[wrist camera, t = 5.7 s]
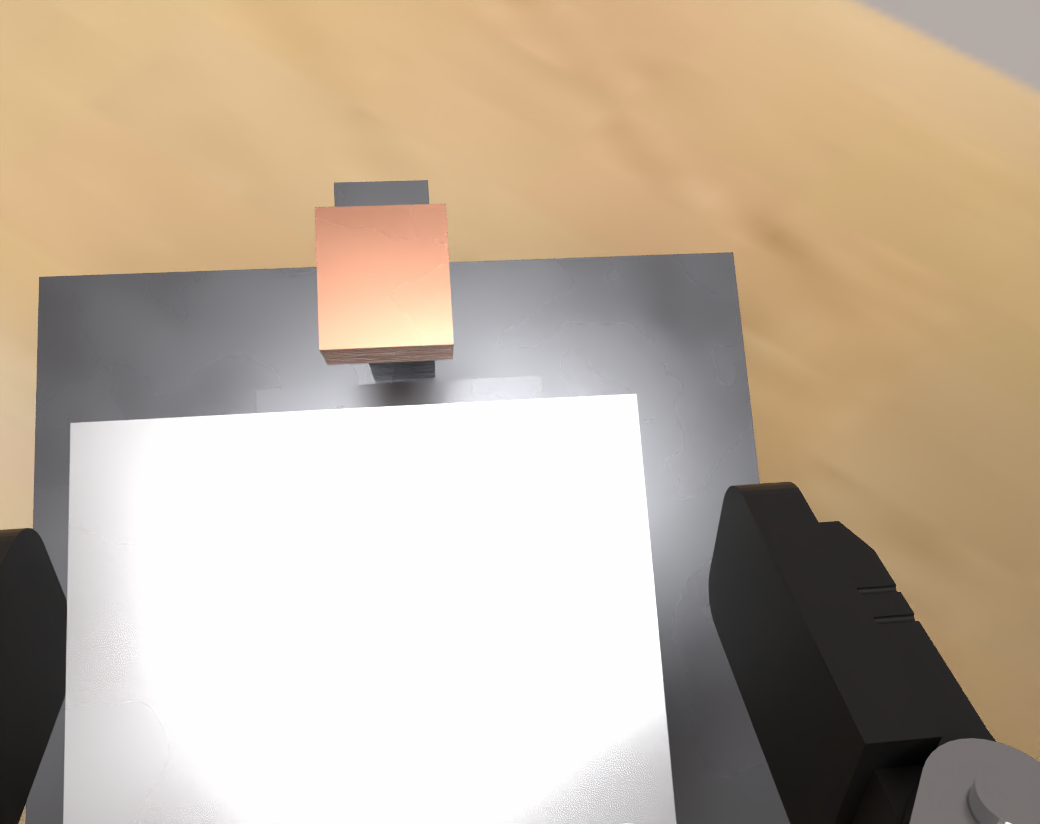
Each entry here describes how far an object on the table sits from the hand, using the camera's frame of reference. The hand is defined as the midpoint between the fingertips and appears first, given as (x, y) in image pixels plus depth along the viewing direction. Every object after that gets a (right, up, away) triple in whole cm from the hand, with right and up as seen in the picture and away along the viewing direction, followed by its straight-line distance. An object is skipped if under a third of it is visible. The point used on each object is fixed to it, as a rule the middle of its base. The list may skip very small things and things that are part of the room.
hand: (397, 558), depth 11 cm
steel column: (0, -2, +6) cm, 6 cm away
